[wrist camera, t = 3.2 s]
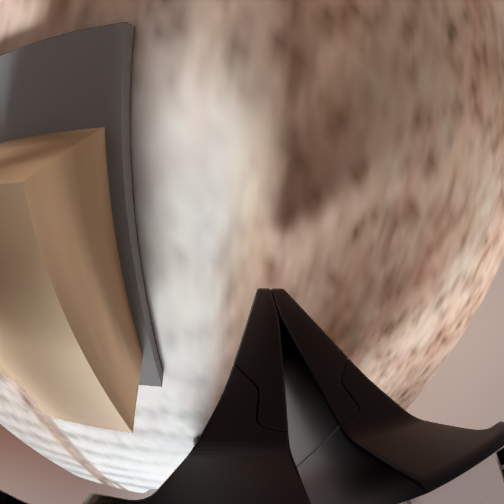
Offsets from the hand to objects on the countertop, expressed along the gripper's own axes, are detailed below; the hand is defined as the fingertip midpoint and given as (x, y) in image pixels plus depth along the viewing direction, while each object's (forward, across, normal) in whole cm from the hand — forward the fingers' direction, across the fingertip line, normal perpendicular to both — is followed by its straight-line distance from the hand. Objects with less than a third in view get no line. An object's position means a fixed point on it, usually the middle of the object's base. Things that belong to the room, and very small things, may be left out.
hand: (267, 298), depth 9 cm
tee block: (+1, +9, 0) cm, 9 cm away
